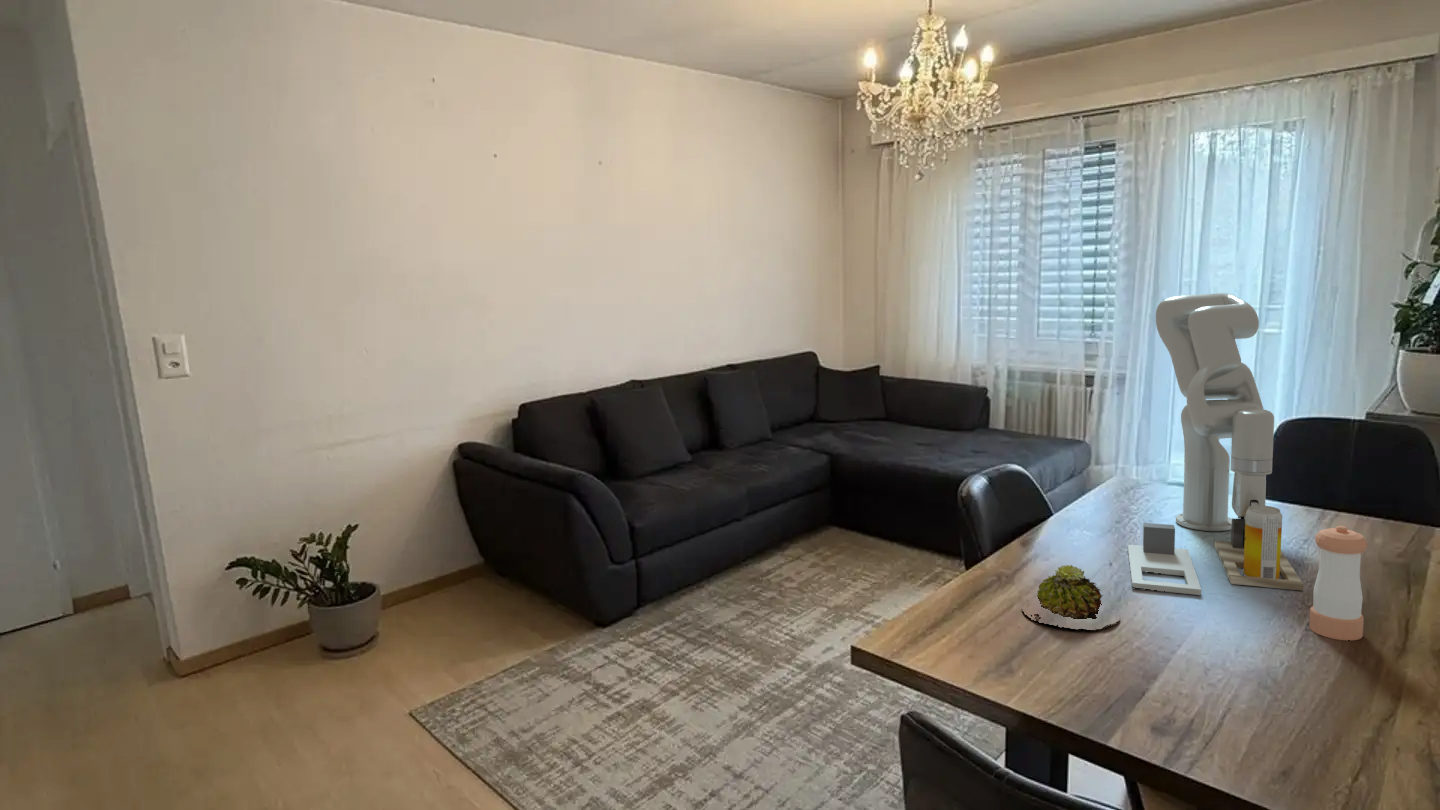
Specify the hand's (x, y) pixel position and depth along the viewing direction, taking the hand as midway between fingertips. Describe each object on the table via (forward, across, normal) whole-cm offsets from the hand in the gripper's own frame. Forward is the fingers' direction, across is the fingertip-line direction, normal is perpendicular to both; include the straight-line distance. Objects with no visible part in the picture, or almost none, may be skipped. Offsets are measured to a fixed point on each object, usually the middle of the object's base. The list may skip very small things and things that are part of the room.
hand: (1248, 541), depth 170 cm
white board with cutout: (+3, +17, -18) cm, 25 cm away
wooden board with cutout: (+3, +9, 0) cm, 9 cm away
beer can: (+3, +16, 0) cm, 16 cm away
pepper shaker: (+3, +39, +7) cm, 40 cm away
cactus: (+3, +45, -35) cm, 58 cm away
